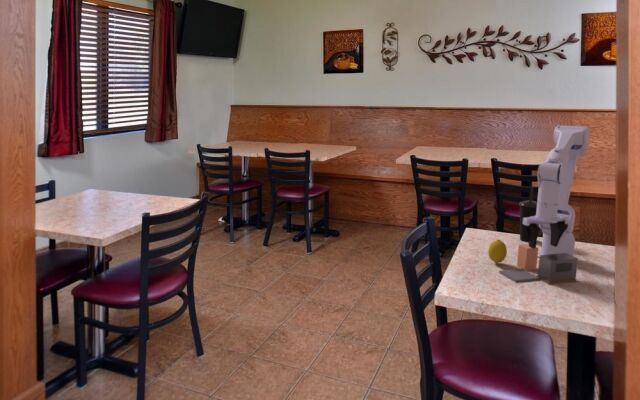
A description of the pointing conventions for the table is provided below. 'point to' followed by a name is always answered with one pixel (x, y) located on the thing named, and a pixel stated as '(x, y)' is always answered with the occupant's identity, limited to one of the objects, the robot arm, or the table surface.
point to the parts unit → (557, 268)
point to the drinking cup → (526, 214)
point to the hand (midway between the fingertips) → (543, 246)
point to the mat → (519, 275)
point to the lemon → (497, 251)
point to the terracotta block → (527, 257)
